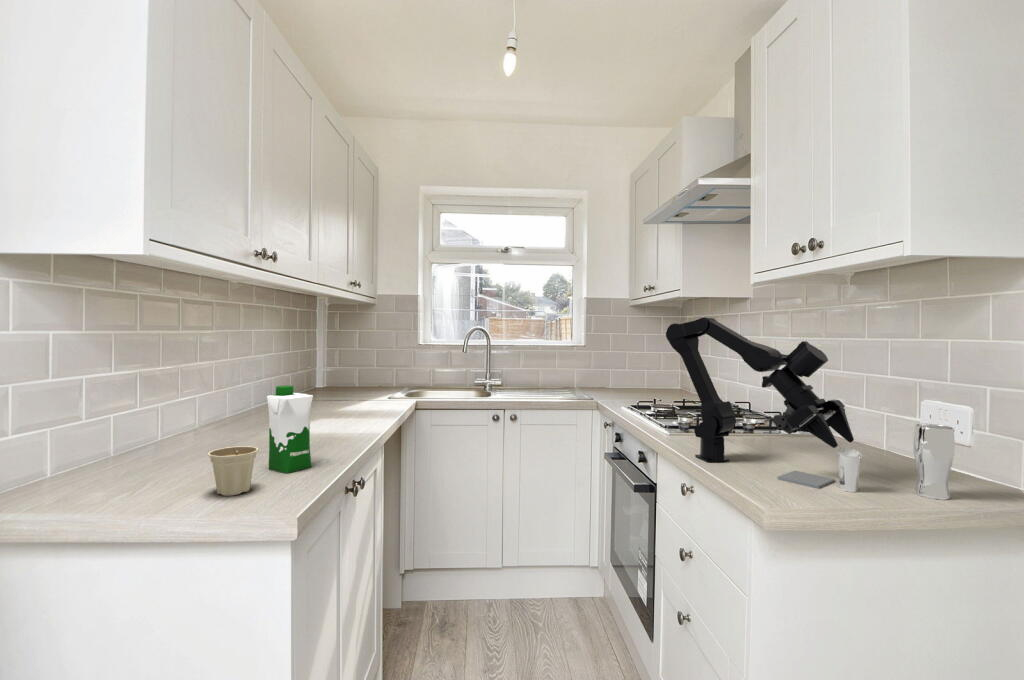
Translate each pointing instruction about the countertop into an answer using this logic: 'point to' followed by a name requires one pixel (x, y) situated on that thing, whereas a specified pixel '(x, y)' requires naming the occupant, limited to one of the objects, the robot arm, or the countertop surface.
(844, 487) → the milkshake
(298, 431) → the milk carton
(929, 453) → the beer glass
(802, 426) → the robot arm
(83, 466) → the countertop surface
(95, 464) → the countertop surface
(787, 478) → the coaster
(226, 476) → the flower pot
